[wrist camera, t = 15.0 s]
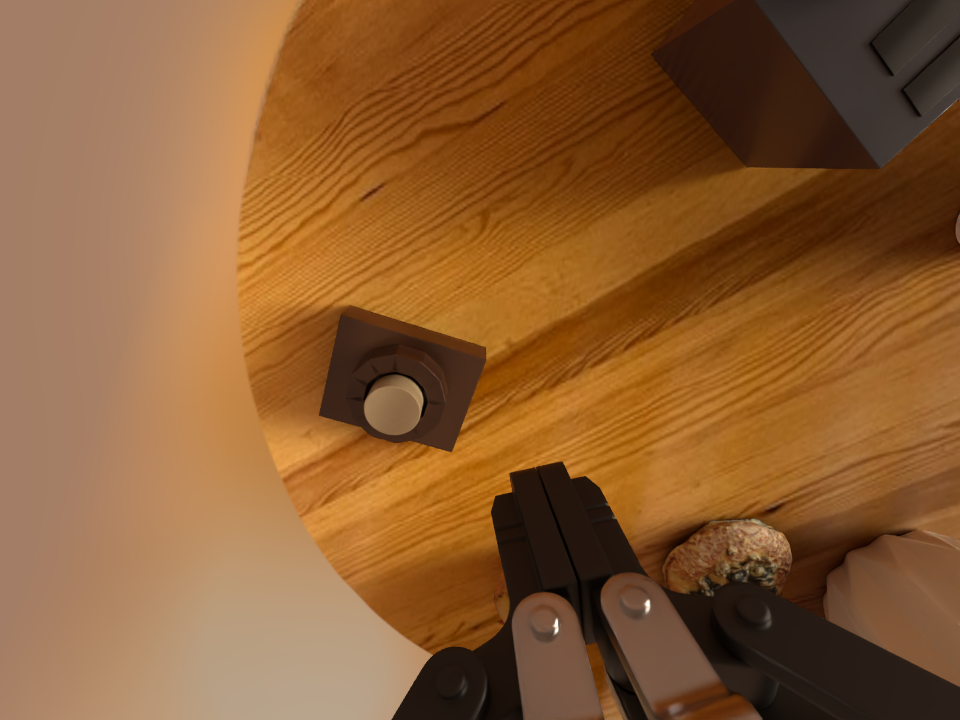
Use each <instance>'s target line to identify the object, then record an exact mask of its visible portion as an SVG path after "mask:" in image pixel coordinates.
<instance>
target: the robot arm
mask: <svg viewBox="0 0 960 720" xmlns="http://www.w3.org/2000/svg"><path fill="white" fill-rule="evenodd" d="M509 474H510V481H511V487H512V492H511V493H507V494H502V495H498V496H495V499H494V503H493V507H492V510H491V515H492V520H493V525H494V529H495V534H496V539H497V544H498V549H499V554H500V559H501V563H502V568H503V573H504V578H505V582H506V587H507V592H508V597H509V603H510V604H509V613H508V617H507V620H506V622H505V624H504V626H503V627H502V629H501V630H500V631H499V632H498V633H497V634H496V635H495V636H494V637H493V638H492V639H490V640H489V641H487V642H486V643H484V644H483V645H481V646H480V647H478V648H477V649H475V650H474V651H471V650H469V649H467V648H464V647H448V648H445V649H443V650H441V651H439V652H437V653H436V654H434V655H433V656H432V657H431V658H430V659H429V660H428V661H427V662H426V664H425V665H424V667H423V668H422V670H421V671H420V673H419V675H418V676H417V678H416V680H415V681H414V683H413V685H412V686H411V688H410V690H409V691H408V693H407V695H406V696H405V698H404V700H403V701H402V703H401V705H400V706H399V708H398V710H397V711H396V713H395V715H394V716H393V718H392V720H605V719H604V716H603V712H602V708H601V705H600V701H599V697H598V693H597V689H596V685H595V682H594V678H593V674H592V670H591V666H590V663H589V659H588V655H587V651H586V647H585V644H586V645H587V644H591V643H596V642H597V645H598V648H599V650H600V653H601V656H602V659H603V661H604V674H605V678H606V681H607V684H608V686H609V688H610V691H611V693H612V695H613V698H614V700H615V702H616V705H617V707H618V709H619V712H620V714H621V716H622V719H623V720H960V687H959V686H957V685H955V684H953V683H951V682H949V681H947V680H945V679H943V678H941V677H939V676H937V675H935V674H933V673H931V672H929V671H927V670H925V669H923V668H921V667H919V666H917V665H915V664H913V663H911V662H909V661H907V660H905V659H903V658H901V657H899V656H897V655H895V654H893V653H891V652H889V651H887V650H885V649H883V648H881V647H879V646H878V645H876V644H874V643H872V642H870V641H868V640H866V639H864V638H862V637H860V636H858V635H856V634H854V633H852V632H850V631H848V630H846V629H844V628H842V627H840V626H838V625H836V624H834V623H832V622H830V621H828V620H826V619H824V618H822V617H820V616H818V615H816V614H814V613H812V612H810V611H808V610H806V609H804V608H802V607H800V606H798V605H796V604H794V603H792V602H790V601H788V600H786V599H784V598H782V597H780V596H778V595H776V594H774V593H772V592H770V591H768V590H766V589H764V588H762V587H760V586H758V585H755V584H752V583H748V582H739V581H736V582H729V583H726V584H724V585H722V586H721V587H719V588H718V589H717V591H716V592H715V594H714V596H706V595H695V594H685V593H678V592H675V591H671V590H669V589H666V588H664V587H662V586H661V585H659V584H657V583H656V582H655V581H653V580H652V579H651V578H650V577H649V576H648V575H647V574H646V572H645V571H644V570H643V568H642V567H641V565H640V563H639V561H638V559H637V557H636V555H635V553H634V551H633V550H632V548H631V546H630V544H629V542H628V540H627V538H626V536H625V534H624V533H623V531H622V529H621V527H620V525H619V523H618V521H617V519H615V516H614V514H613V512H612V510H611V508H610V506H608V502H607V501H606V499H605V497H604V495H603V493H602V491H601V489H600V488H599V487H598V486H597V485H596V484H595V483H593V482H592V481H591V480H590V479H588V478H587V477H586V476H583V477H578V478H574V479H570V476H569V474H568V472H567V470H566V468H565V466H564V464H563V462H562V461H561V462H556V463H552V464H547V465H543V466H538V467H536V469H535V467H534V468H530V469H525V470H520V471H516V472H511V473H509ZM583 638H584V640H583ZM584 641H585V644H584Z"/></svg>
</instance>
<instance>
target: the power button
mask: <svg viewBox="0 0 960 720" xmlns="http://www.w3.org/2000/svg"><path fill="white" fill-rule="evenodd" d="M423 401H424V399H423V393H422V391H421V389H420V387H419V386H418V385H417V384H416V383H415V382H414V381H413V380H412V379H410V378H408V377H406V376H403V375H397V374H392V375H387V376H384V377H382V378H380V379H378V380H377V381H376V382H375V383H374V384H373V386H372V388H371V390H370V392H369V394H368V396H367V398H366V400H365V403H364V414H365V417H366V419H367V421H368V422H369V424H370V425H371V426H372V427H373V428H374V429H376V430H377V431H379V432H381V433H384V434H388V435H400V434H404V433H407V432H409V431H410V430H412V429H413V428H414V427H415V426H416V425H417V423H418V421H419V419H420V415H421V411H422V407H423Z"/></svg>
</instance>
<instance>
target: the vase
mask: <svg viewBox="0 0 960 720" xmlns="http://www.w3.org/2000/svg"><path fill="white" fill-rule="evenodd" d="M823 605H824V611H825V617H826V620H828V621H830V622H832V623H834V624H836V625H838V626H840V627H842V628H844V629H846V630H848V631H850V632H852V633H854V634H856V635H858V636H860V637H862V638H864V639H866V640H868V641H870V642H872V643H874V644H876V645H878V646H879V647H881V648H883V649H885V650H887V651H889V652H891V653H893V654H895V655H897V656H899V657H901V658H903V659H905V660H907V661H909V662H911V663H913V664H915V665H917V666H919V667H921V668H923V669H925V670H927V671H929V672H931V673H933V674H935V675H937V676H939V677H941V678H943V679H945V680H947V681H949V682H951V683H953V684H955V685H957V686H959V687H960V539H957V538H953V537H949V536H945V535H942V534H938V533H934V532H929V531H924V530H915V531H912V532H910V533H907V534H904V535H902V536H893V535H887V534H885V535H882V536H879V537H878V538H877V539H875V540H874V541H873V542H872V543H871V544H870V545H868V546H866V547H862V548H857V549H854V550H851V551H850V552H848V553H847V555H846V557H845V559H844V562H843V564H842V565H840V566H839V567H837V568H835V569H834V570H832V571H831V572H829V574H828V575H827V591H826V593H825V594H824V597H823Z"/></svg>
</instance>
